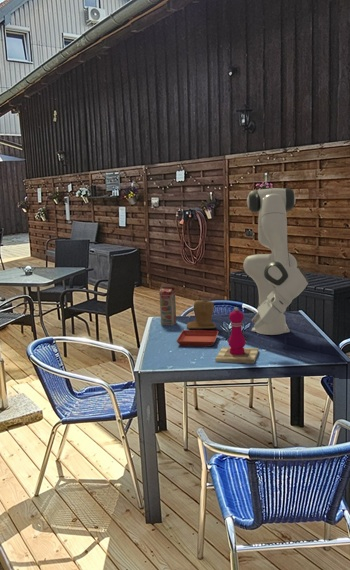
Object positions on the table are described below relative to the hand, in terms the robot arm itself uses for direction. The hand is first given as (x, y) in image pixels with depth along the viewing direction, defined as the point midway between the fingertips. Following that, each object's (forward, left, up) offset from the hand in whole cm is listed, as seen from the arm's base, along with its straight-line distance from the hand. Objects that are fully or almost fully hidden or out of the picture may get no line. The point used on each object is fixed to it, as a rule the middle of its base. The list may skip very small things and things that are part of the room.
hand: (253, 324), depth 216 cm
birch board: (+2, -7, -14) cm, 16 cm away
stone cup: (-42, -33, -14) cm, 55 cm away
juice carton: (-49, -53, -14) cm, 74 cm away
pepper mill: (+2, -7, -12) cm, 14 cm away
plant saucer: (-18, -29, -14) cm, 37 cm away
